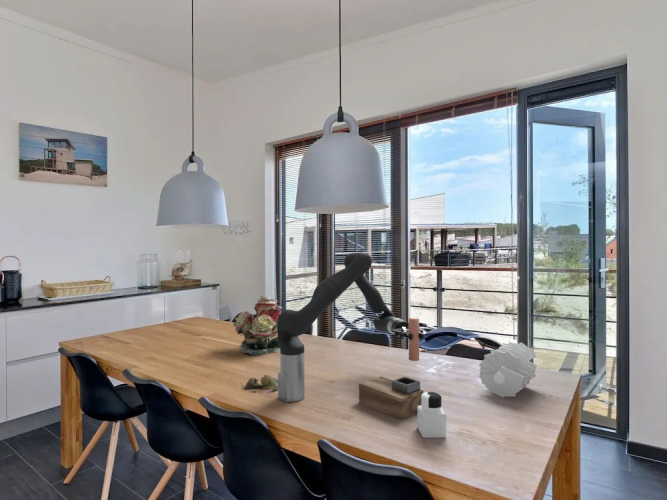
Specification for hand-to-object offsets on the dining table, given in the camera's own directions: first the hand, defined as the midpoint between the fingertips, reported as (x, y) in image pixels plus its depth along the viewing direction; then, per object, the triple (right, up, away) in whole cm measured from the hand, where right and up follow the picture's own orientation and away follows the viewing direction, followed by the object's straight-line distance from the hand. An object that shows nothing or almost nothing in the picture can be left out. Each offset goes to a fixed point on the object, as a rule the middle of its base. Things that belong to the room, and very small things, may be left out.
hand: (417, 336), depth 153 cm
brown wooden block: (-11, -23, -9) cm, 27 cm away
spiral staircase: (+38, -23, +7) cm, 45 cm away
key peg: (-1, -9, +3) cm, 10 cm away
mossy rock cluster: (-61, -24, +13) cm, 67 cm away
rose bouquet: (-72, -23, +71) cm, 104 cm away
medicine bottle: (-2, -23, -30) cm, 38 cm away
